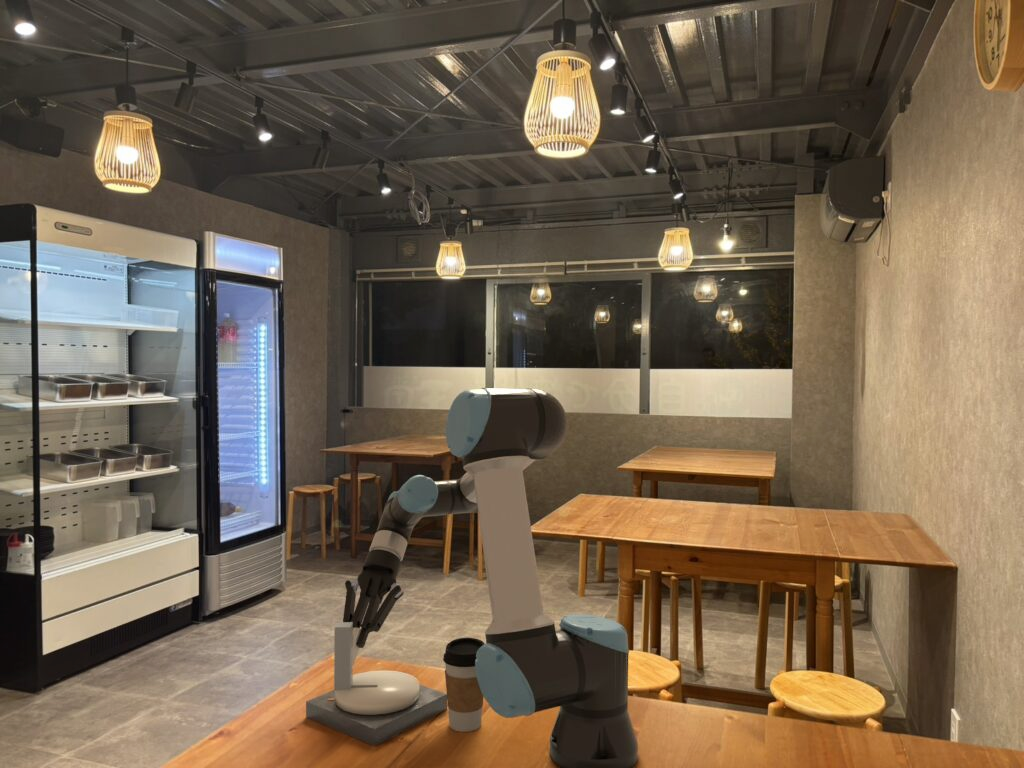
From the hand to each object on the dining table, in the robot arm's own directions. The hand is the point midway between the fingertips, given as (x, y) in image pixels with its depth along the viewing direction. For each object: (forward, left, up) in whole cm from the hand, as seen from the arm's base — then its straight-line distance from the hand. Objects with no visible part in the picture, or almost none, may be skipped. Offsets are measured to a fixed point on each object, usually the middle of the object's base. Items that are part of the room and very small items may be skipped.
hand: (348, 661), depth 150 cm
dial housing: (-6, -2, -9) cm, 11 cm away
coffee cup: (-23, -8, -9) cm, 26 cm away
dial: (-6, -2, -6) cm, 9 cm away
